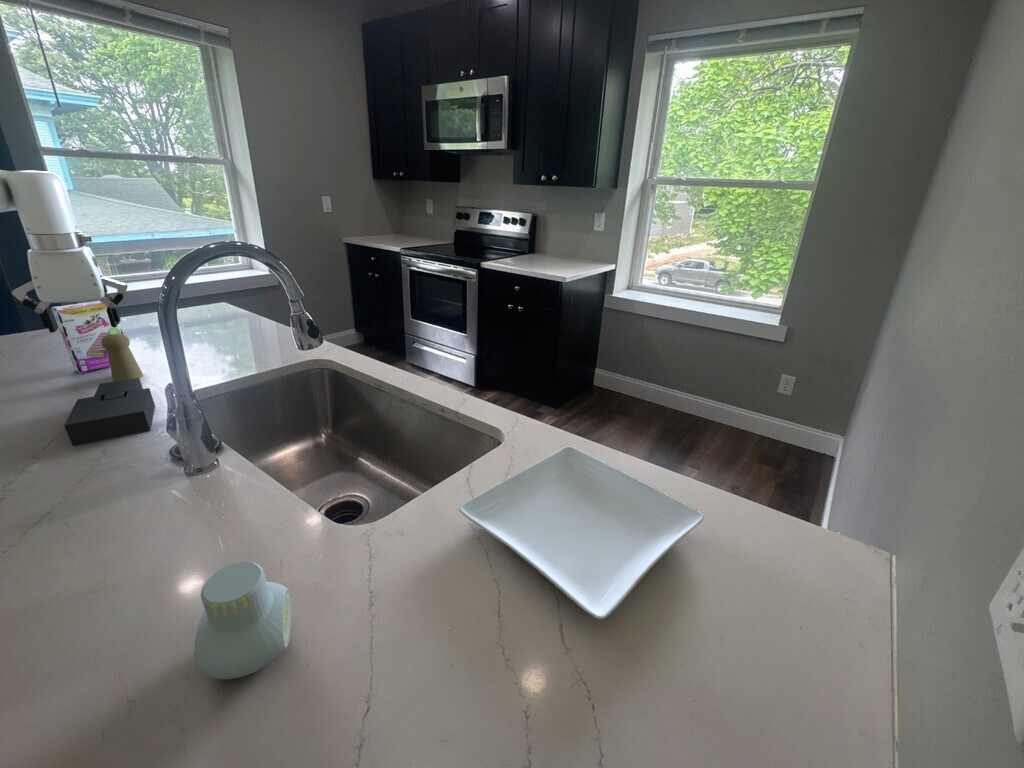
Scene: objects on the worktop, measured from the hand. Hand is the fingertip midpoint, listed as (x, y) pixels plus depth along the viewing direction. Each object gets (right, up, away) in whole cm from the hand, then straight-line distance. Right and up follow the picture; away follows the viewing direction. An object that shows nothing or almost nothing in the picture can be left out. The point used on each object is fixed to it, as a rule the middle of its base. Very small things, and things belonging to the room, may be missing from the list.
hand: (85, 328), depth 96 cm
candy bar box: (-19, -7, +26) cm, 33 cm away
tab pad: (+3, -17, +6) cm, 18 cm away
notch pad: (+7, -20, 0) cm, 21 cm away
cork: (-8, -10, +20) cm, 24 cm away
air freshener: (+58, -42, -43) cm, 83 cm away
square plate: (+98, -34, -24) cm, 107 cm away
